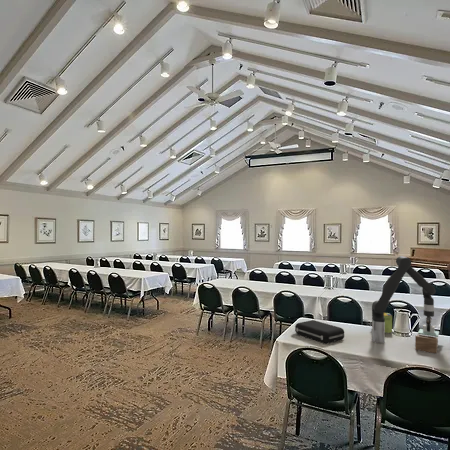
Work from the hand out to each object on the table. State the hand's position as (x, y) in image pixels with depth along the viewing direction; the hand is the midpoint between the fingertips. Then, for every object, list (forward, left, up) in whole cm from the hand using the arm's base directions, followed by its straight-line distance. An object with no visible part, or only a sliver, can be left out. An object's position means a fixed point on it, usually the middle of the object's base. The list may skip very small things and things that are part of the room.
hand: (428, 330), depth 290 cm
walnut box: (-11, -13, -10) cm, 20 cm away
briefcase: (-82, +24, -11) cm, 86 cm away
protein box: (-20, +36, -10) cm, 43 cm away
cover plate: (0, 0, -2) cm, 2 cm away
